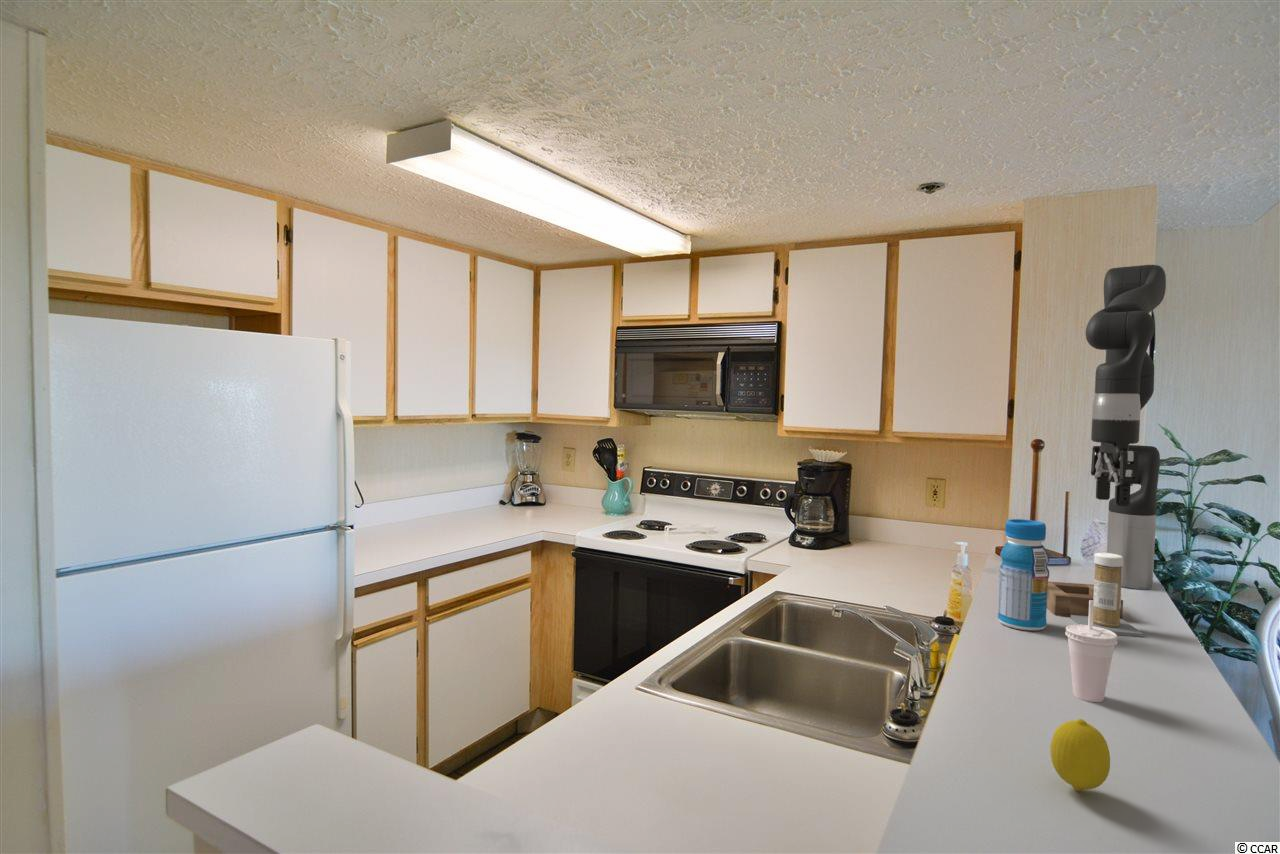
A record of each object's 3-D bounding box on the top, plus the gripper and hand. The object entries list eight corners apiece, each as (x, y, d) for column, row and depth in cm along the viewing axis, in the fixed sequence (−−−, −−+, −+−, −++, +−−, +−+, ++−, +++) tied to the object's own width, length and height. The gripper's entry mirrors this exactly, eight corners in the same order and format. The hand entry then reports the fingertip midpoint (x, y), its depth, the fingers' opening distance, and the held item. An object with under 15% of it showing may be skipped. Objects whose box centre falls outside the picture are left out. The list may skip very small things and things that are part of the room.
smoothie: (1107, 691, 103) (1111, 598, 102) (1121, 709, 97) (1125, 610, 96) (1057, 684, 105) (1061, 593, 104) (1068, 702, 99) (1073, 605, 98)
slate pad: (1070, 617, 138) (1070, 614, 138) (1121, 621, 136) (1121, 618, 136) (1088, 632, 129) (1088, 629, 129) (1143, 637, 127) (1143, 633, 127)
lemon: (1038, 777, 78) (1040, 708, 78) (1083, 776, 79) (1086, 707, 79) (1072, 806, 73) (1075, 732, 73) (1121, 804, 73) (1124, 731, 73)
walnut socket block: (1035, 598, 151) (1036, 580, 151) (1097, 603, 148) (1097, 584, 148) (1054, 615, 139) (1055, 595, 139) (1122, 620, 137) (1123, 600, 136)
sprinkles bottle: (1124, 625, 132) (1127, 555, 131) (1113, 629, 129) (1116, 558, 129) (1098, 618, 136) (1101, 550, 135) (1086, 622, 133) (1089, 553, 133)
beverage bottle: (999, 628, 131) (1003, 523, 130) (994, 615, 138) (998, 516, 138) (1050, 634, 127) (1055, 527, 127) (1043, 621, 135) (1047, 520, 134)
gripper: (1156, 419, 123) (1152, 509, 124) (1121, 417, 137) (1117, 498, 138) (1109, 418, 125) (1105, 507, 126) (1079, 416, 139) (1075, 496, 139)
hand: (1111, 502), depth 132 cm, fingers open, 8 cm apart
